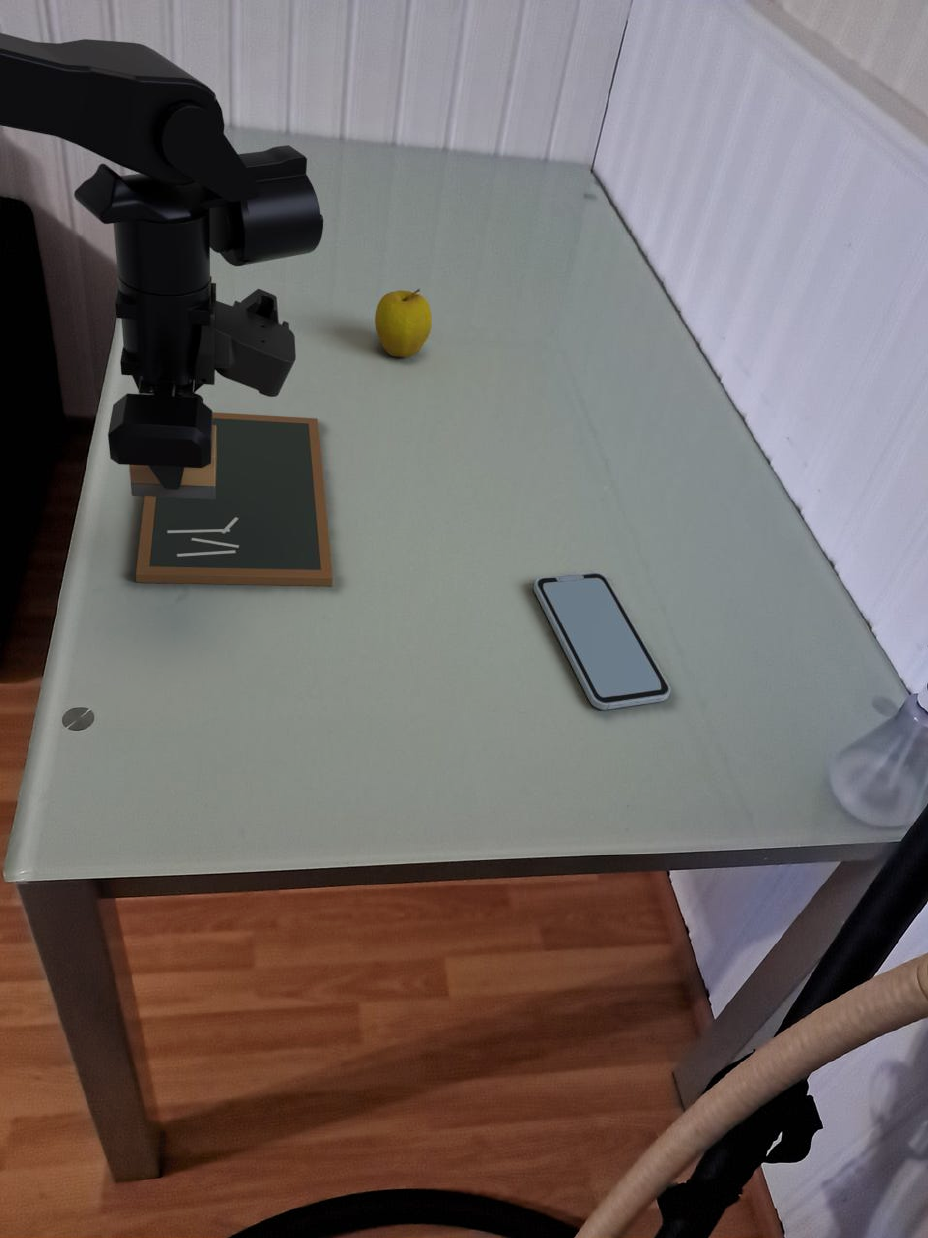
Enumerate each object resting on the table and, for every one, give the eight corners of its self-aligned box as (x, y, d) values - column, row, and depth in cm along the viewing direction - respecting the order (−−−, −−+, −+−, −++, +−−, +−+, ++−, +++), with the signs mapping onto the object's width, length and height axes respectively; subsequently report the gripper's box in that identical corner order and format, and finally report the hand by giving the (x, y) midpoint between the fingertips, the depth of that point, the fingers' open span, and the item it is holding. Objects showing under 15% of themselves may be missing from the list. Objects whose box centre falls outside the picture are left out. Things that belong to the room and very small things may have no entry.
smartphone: (596, 706, 77) (531, 578, 86) (593, 713, 77) (529, 584, 87) (675, 694, 79) (603, 570, 89) (672, 701, 80) (601, 577, 89)
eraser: (131, 496, 71) (127, 451, 68) (136, 463, 74) (132, 419, 71) (215, 499, 73) (214, 456, 70) (216, 467, 75) (216, 424, 72)
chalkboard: (136, 582, 79) (135, 573, 78) (154, 416, 95) (154, 408, 94) (332, 586, 83) (333, 577, 82) (316, 426, 99) (317, 417, 98)
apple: (436, 354, 114) (447, 290, 108) (405, 373, 109) (414, 308, 104) (393, 332, 116) (401, 269, 110) (360, 350, 111) (367, 285, 106)
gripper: (295, 360, 57) (284, 556, 68) (288, 225, 70) (279, 408, 81) (97, 346, 55) (118, 551, 65) (127, 208, 67) (141, 399, 78)
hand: (173, 470), depth 72 cm, fingers closed on eraser, 4 cm apart
